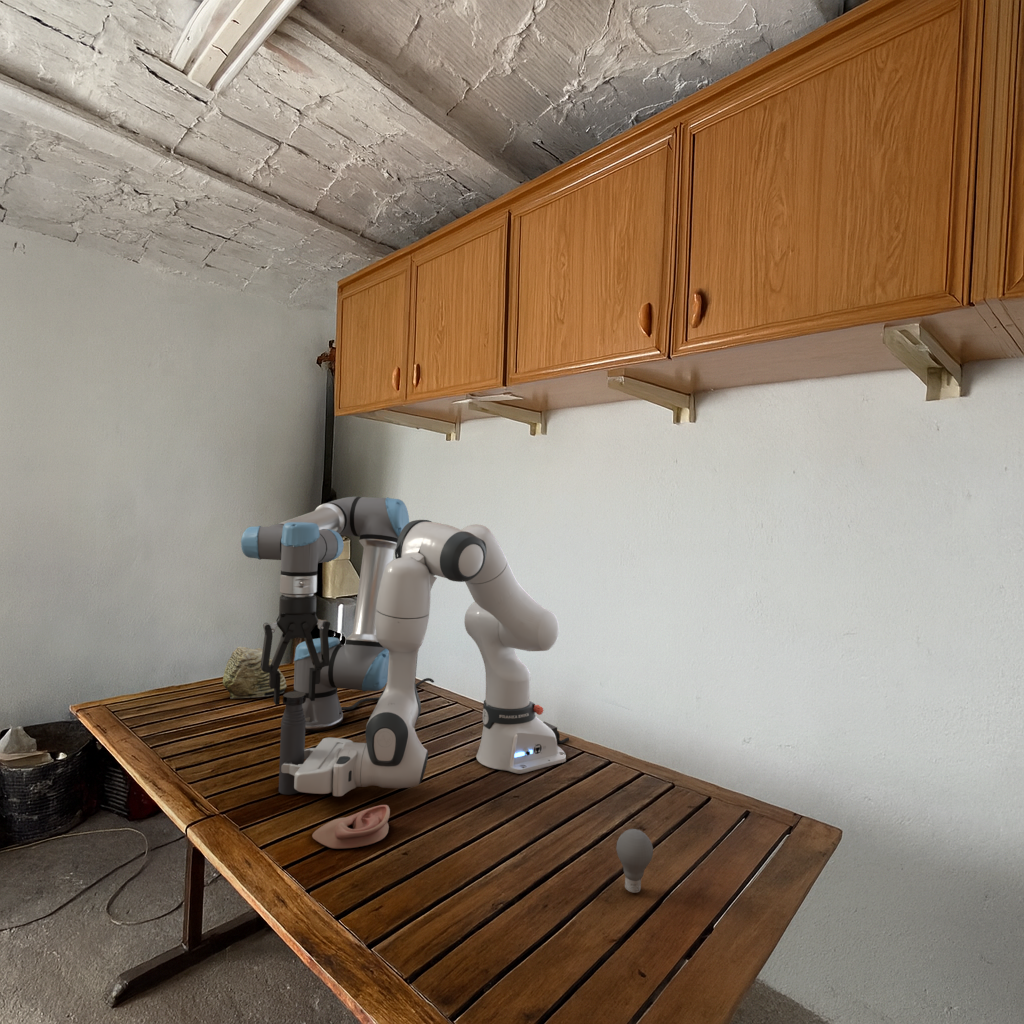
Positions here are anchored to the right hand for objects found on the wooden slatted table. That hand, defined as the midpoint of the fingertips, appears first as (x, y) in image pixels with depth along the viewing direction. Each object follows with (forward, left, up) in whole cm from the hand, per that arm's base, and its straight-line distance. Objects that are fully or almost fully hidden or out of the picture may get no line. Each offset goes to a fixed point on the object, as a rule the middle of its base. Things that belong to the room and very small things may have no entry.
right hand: (287, 761), depth 136 cm
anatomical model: (-10, +23, -6) cm, 26 cm away
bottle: (-1, 0, -6) cm, 6 cm away
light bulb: (-50, +57, -6) cm, 76 cm away
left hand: (-1, 0, +13) cm, 13 cm away
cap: (-1, 0, +14) cm, 14 cm away
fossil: (+3, -69, -6) cm, 70 cm away
